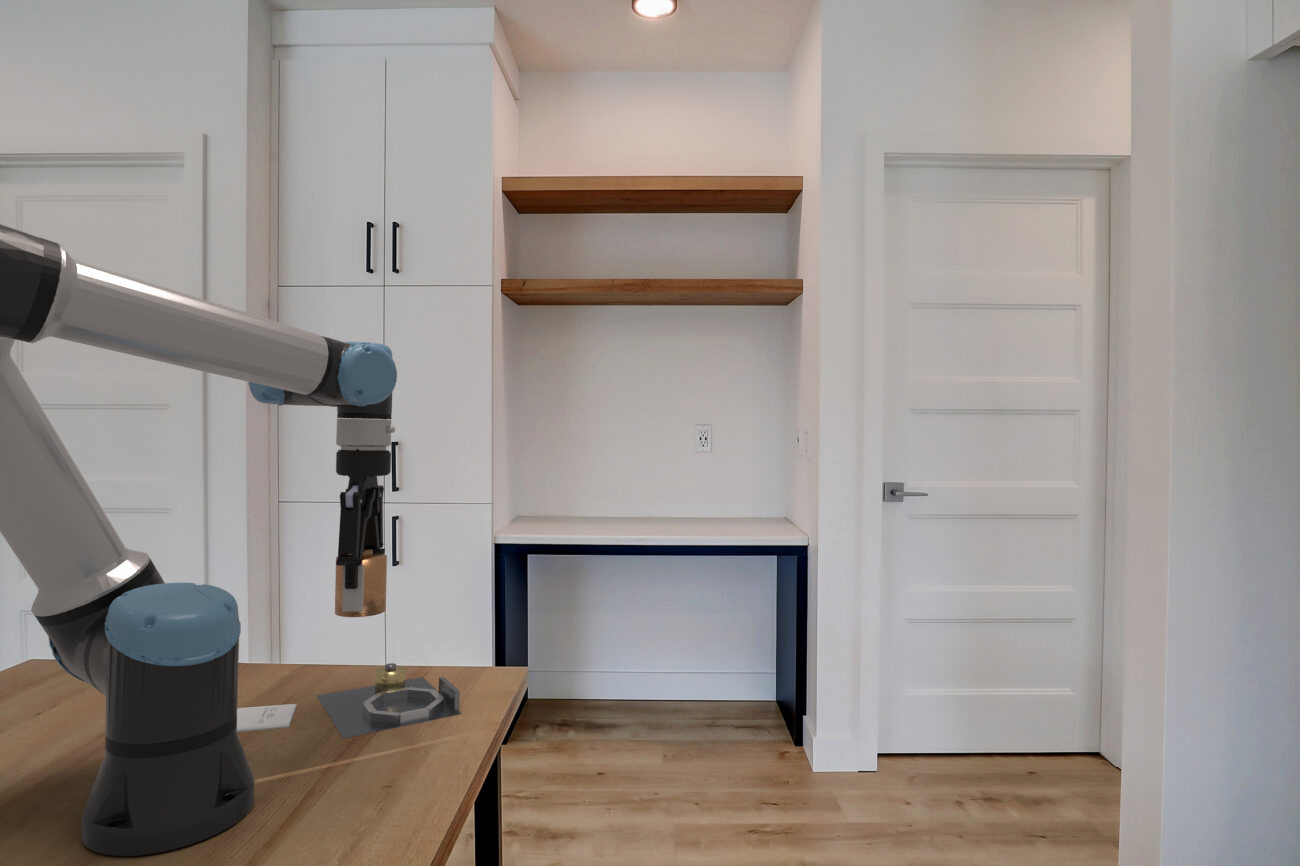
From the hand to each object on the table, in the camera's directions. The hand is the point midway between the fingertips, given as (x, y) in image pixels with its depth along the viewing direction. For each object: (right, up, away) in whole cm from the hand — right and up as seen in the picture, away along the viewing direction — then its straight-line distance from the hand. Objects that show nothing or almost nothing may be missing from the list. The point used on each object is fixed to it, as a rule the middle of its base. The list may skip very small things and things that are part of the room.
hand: (360, 604), depth 109 cm
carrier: (+4, -15, -1) cm, 16 cm away
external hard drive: (-13, -16, -7) cm, 22 cm away
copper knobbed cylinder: (0, -1, 0) cm, 1 cm away
